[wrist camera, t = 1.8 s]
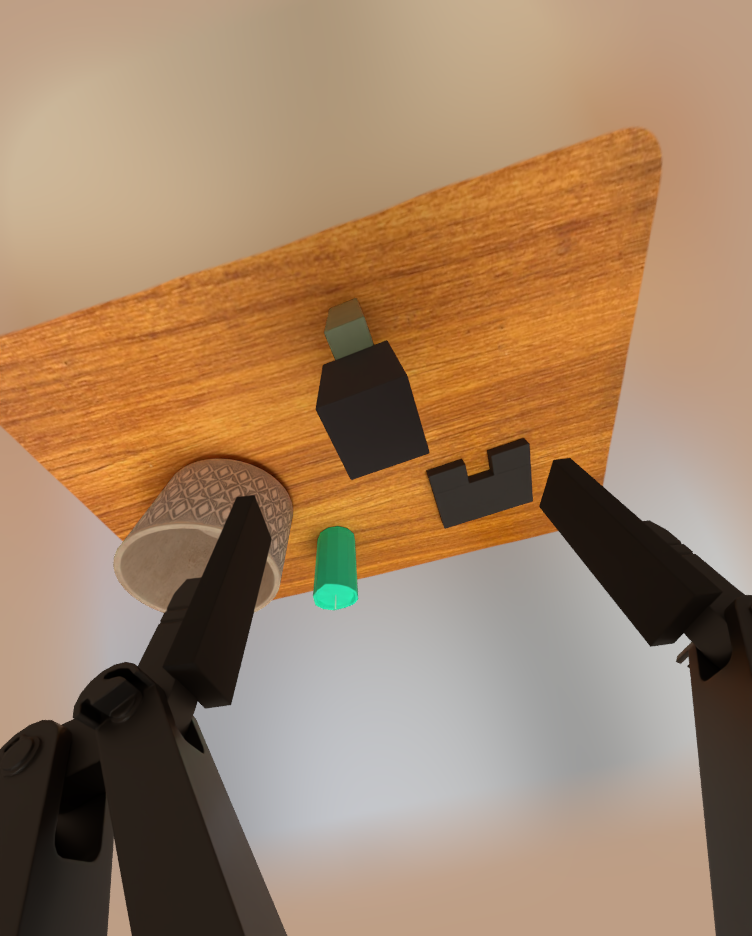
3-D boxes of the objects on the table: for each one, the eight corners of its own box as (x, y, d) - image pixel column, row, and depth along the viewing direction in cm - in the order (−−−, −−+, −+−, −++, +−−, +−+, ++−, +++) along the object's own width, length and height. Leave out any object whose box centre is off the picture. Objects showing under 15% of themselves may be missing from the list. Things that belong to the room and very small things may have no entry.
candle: (356, 526, 49) (361, 595, 39) (353, 552, 52) (356, 621, 42) (318, 525, 48) (312, 595, 38) (316, 551, 51) (311, 622, 41)
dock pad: (524, 437, 42) (529, 443, 41) (528, 495, 48) (533, 501, 47) (426, 470, 44) (428, 476, 42) (442, 522, 50) (444, 528, 49)
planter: (249, 433, 38) (215, 500, 27) (314, 520, 47) (307, 595, 37) (141, 481, 40) (71, 559, 30) (223, 555, 49) (191, 634, 39)
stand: (356, 297, 31) (364, 315, 21) (384, 380, 36) (401, 426, 26) (328, 308, 31) (323, 332, 21) (360, 389, 36) (368, 438, 26)
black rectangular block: (387, 339, 22) (407, 374, 15) (415, 432, 26) (440, 490, 20) (322, 364, 22) (315, 408, 16) (361, 451, 27) (367, 514, 20)
